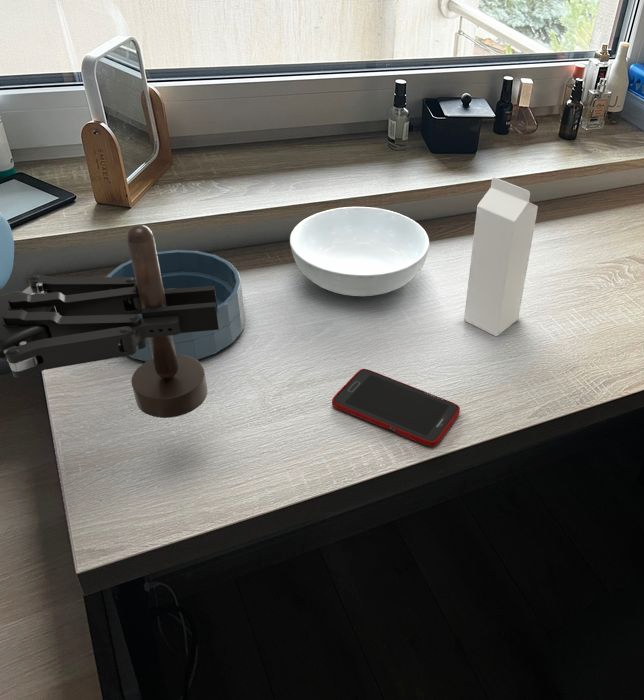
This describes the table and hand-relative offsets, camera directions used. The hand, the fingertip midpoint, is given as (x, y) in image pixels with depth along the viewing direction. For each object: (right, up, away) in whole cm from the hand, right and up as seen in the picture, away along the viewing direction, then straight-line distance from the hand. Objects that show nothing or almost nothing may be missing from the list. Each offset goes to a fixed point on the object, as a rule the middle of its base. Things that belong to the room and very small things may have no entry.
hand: (216, 307), depth 70 cm
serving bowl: (+8, +7, +43) cm, 44 cm away
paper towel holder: (-6, -9, +5) cm, 12 cm away
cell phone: (+16, -12, +20) cm, 28 cm away
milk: (+28, 0, +37) cm, 47 cm away
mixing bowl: (-15, -1, +29) cm, 32 cm away
